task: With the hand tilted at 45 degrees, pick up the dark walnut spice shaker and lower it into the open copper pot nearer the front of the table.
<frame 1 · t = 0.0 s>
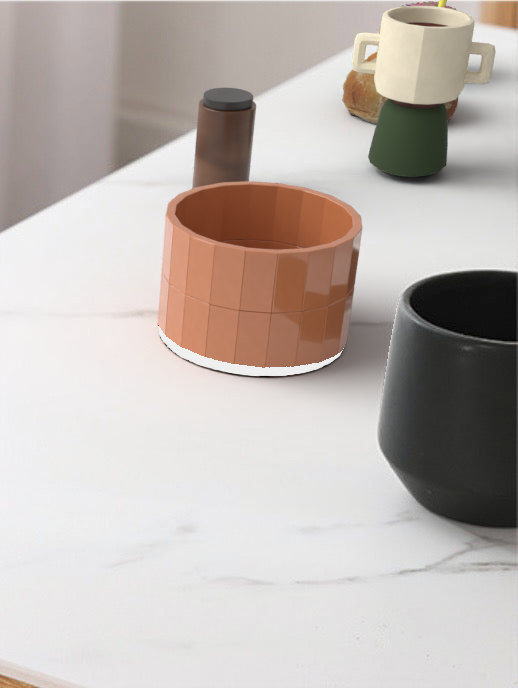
pot: (250, 335, 104), on the table
character mug: (405, 173, 131), on the table
spice shaker: (219, 197, 126), on the table
cupcake: (418, 77, 154), on the table
bread roll: (394, 113, 145), on the table
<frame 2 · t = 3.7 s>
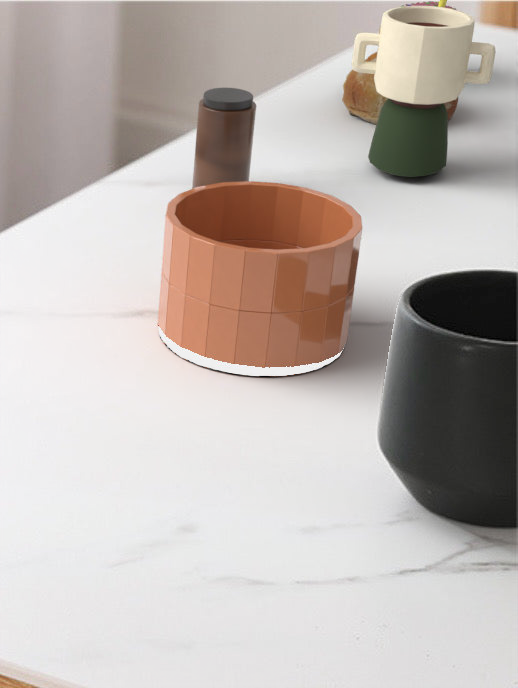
nothing on the table moved.
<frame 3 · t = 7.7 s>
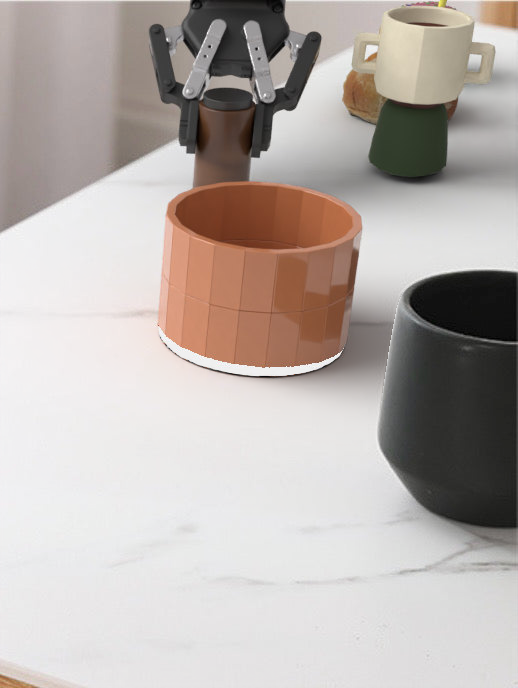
hand: (223, 150, 122), 5 cm above the table, tool tilted 45°, fingers closed on spice shaker, 4 cm apart
spice shaker: (219, 197, 126), on the table, touching gripper
everything else where it was.
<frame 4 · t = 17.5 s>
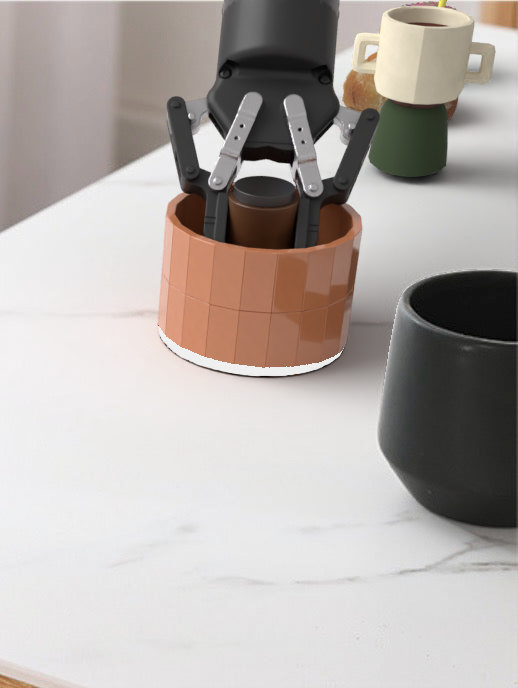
hand: (258, 254, 99), 7 cm above the table, tool tilted 45°, fingers closed on spice shaker, 4 cm apart
spice shaker: (251, 308, 103), point 2 cm above the table, touching gripper
everything else where it was.
when the fingers open (8 cm above the table, at t = 27.7 s): spice shaker drops 3 cm, resting on pot.
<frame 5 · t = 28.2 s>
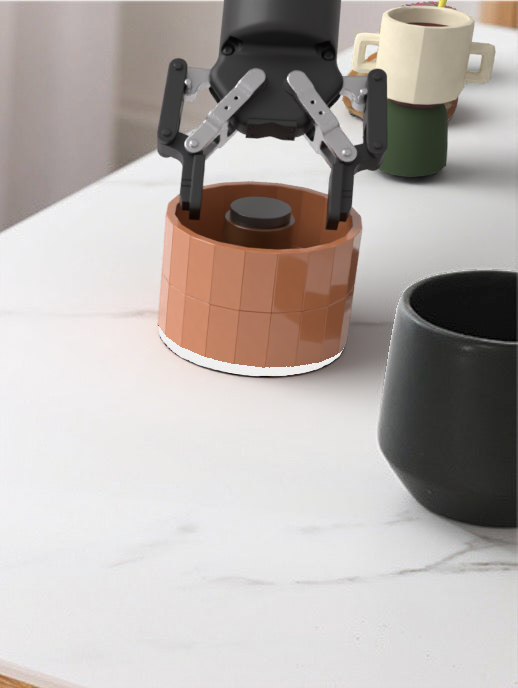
hand: (263, 220, 99), 9 cm above the table, tool tilted 45°, fingers open, 8 cm apart
spice shaker: (248, 327, 104), resting on pot
everything else where it was.
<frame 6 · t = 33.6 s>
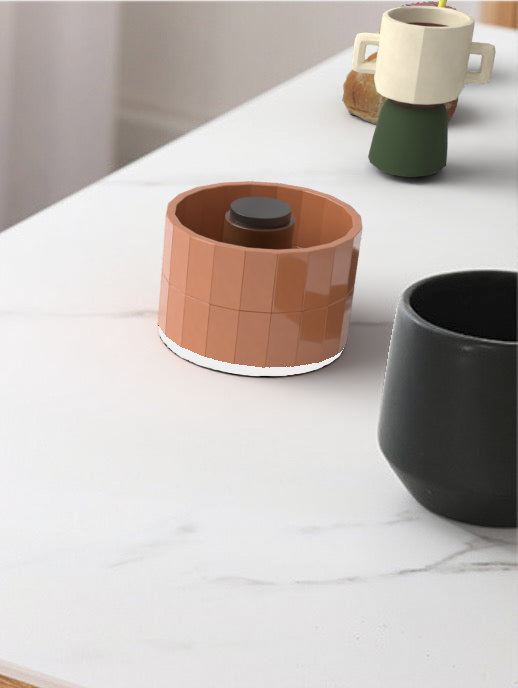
nothing on the table moved.
at the end: spice shaker inside the target area in the pot (0.2 cm from its centre), point 0.5 cm above the pot's base; the gripper is holding nothing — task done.
